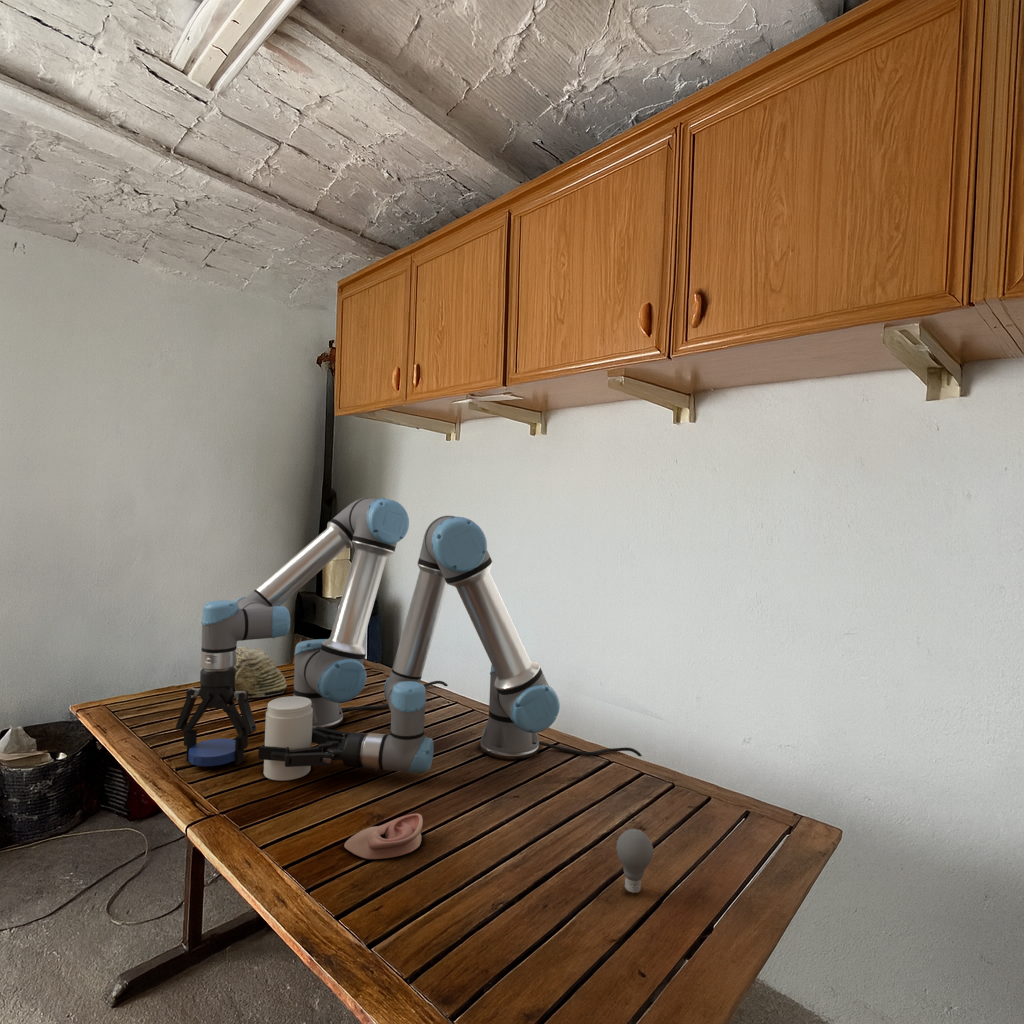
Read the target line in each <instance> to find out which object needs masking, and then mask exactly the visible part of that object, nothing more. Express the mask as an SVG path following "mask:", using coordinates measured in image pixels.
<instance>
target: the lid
mask: <svg viewBox="0 0 1024 1024" xmlns="http://www.w3.org/2000/svg"><path fill="white" fill-rule="evenodd" d="M235 741H236V739H233V738H213V739H207V740H206V739H205V740H202V741H200V742H196V744H195V745H193V746H192V747H191V748H190V749H189V752H188V759H189V763H190V764H191V765H194V766H198V767H215V766H222V765H225V764H226V765H227V764H229V763H231V762H235Z"/></svg>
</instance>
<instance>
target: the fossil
mask: <svg viewBox="0 0 1024 1024" xmlns="http://www.w3.org/2000/svg"><path fill="white" fill-rule="evenodd" d="M234 667H235V669H236V676H235V689H236V691H244V690H247V691H248V699H250V698H264V697H271V696H275V695H281V694H284V693H285V691H286V689H287V687H288V686H287V680H286V678H285V676H284V674H283V673H282V672H281V669H279V668H278V667H277V665H276V663H275V662H274V660H273V659H272V658H271V657H270V656H269V655H268V654H267V653H266V652H265V650H264V649H263V648H260V647H258V648H251V647H247V646H246V647H245V646H237V649H236V665H235V666H234ZM233 699H236V697H234V698H233Z"/></svg>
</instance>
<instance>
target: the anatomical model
mask: <svg viewBox="0 0 1024 1024" xmlns="http://www.w3.org/2000/svg"><path fill="white" fill-rule="evenodd" d="M423 820H424V819H423V815H421V814H420V813H409V814H405V815H403V816H400V817H397V818H395V819H392V820H390V821H388V822H386V823H383V824H381V825H378V826H377V825H376V826H370V827H367V828H364V829H362V830H360V831H358V832H356V833H355V834H353V835H352V836H351V837H350V838H348V839H347V840H346V841H345V842H344V845H343V847H344V849H346V850H347V851H348V852H350V853H351V854H353V855H355V856H358V857H360V858H362V859H366V860H381V859H389V858H390V859H391V858H396V857H400V856H404V855H406V854H409V853H412V852H414V851H415V850H417V849H418V848H419V847H420V845H421V842H422V829H423V826H424V825H423V823H424V821H423Z"/></svg>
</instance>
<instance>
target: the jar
mask: <svg viewBox="0 0 1024 1024" xmlns="http://www.w3.org/2000/svg"><path fill="white" fill-rule="evenodd" d="M311 705H312V702H311V700H310V699H308V698H305V697H299V696H294V695H292V696H289V695H288V696H282V697H281V696H280V697H277V698H274V699H271V700H270V701H269V702H268V703H267V707H266V709H267V710H266V711H265V723H264V725H265V726H264V727H265V728H264V746H269V747H282V748H287V747H289V750H294V749H302V748H310V747H312V744H313V743H312V718H313V709H312V707H311ZM311 767H312V766H298V767H285V761H274V760H263V775H264V777H265V778H267V779H269V780H272V781H280V782H281V781H284V782H285V781H293V780H296V779H300V778H302V777H304V776H307V775H308V774H309V773H310V772H311Z"/></svg>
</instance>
